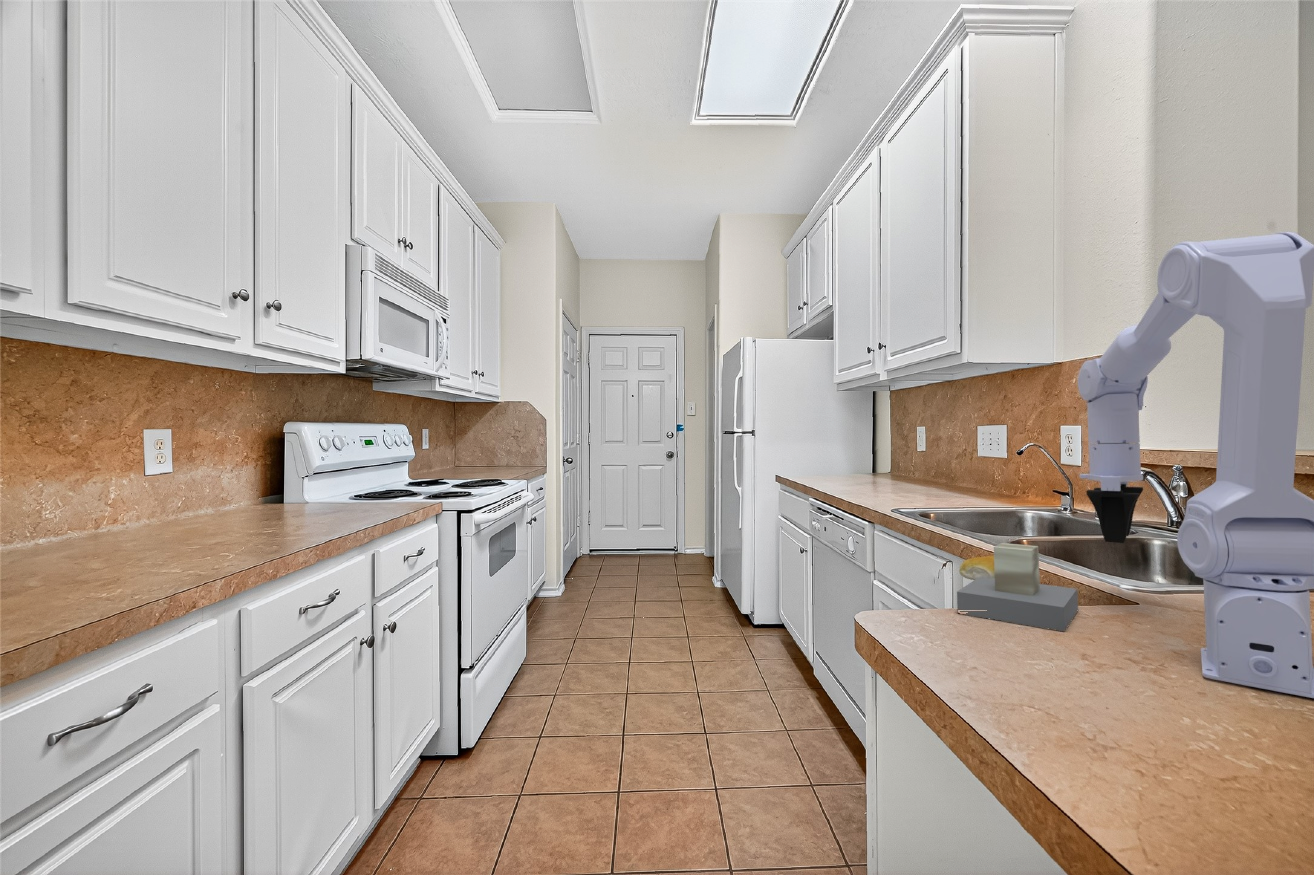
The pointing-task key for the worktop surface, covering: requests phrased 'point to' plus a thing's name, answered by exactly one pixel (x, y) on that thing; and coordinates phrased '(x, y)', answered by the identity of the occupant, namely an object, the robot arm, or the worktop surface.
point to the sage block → (1016, 569)
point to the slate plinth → (1020, 604)
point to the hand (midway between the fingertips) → (1117, 538)
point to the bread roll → (978, 568)
